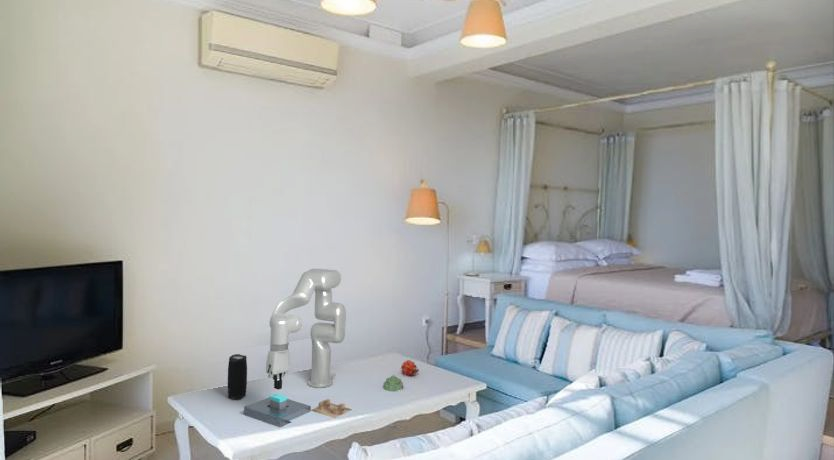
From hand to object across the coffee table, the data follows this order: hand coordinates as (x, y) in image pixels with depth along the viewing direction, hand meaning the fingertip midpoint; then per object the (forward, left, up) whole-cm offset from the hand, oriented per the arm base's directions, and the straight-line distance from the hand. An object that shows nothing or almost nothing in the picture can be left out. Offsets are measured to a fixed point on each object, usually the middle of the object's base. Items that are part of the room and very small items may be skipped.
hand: (277, 388), depth 238 cm
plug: (0, 0, -12) cm, 12 cm away
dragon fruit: (-82, +16, -12) cm, 85 cm away
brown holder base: (-16, +17, -12) cm, 26 cm away
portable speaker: (-3, -30, -12) cm, 32 cm away
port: (0, 0, -12) cm, 12 cm away
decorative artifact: (-59, +21, -12) cm, 64 cm away
